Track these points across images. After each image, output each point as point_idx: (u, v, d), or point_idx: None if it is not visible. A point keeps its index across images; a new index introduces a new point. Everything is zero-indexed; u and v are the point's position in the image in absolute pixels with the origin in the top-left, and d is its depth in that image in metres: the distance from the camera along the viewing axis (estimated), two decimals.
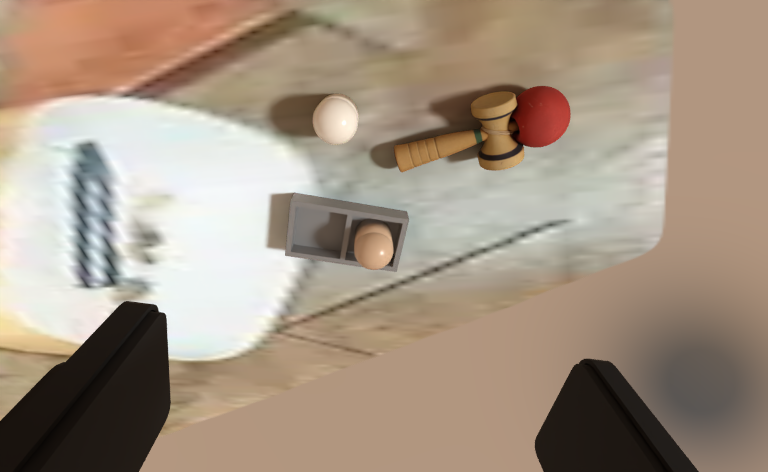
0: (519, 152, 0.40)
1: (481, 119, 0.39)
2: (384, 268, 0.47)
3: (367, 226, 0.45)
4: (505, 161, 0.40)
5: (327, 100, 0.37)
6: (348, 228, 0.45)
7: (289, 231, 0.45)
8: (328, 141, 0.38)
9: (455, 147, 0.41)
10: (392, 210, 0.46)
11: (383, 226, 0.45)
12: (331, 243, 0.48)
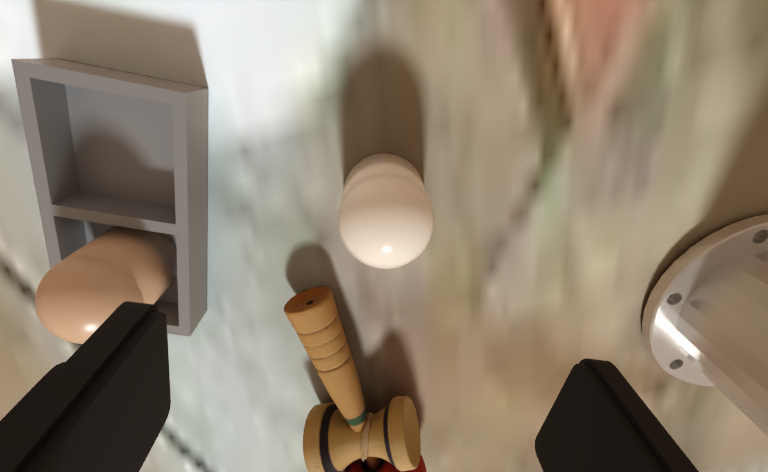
0: None
1: (385, 430, 0.24)
2: None
3: (156, 265, 0.20)
4: None
5: (431, 212, 0.17)
6: (141, 225, 0.19)
7: (93, 80, 0.17)
8: (348, 218, 0.17)
9: (337, 394, 0.24)
10: (205, 289, 0.24)
11: (164, 290, 0.21)
12: (94, 170, 0.20)
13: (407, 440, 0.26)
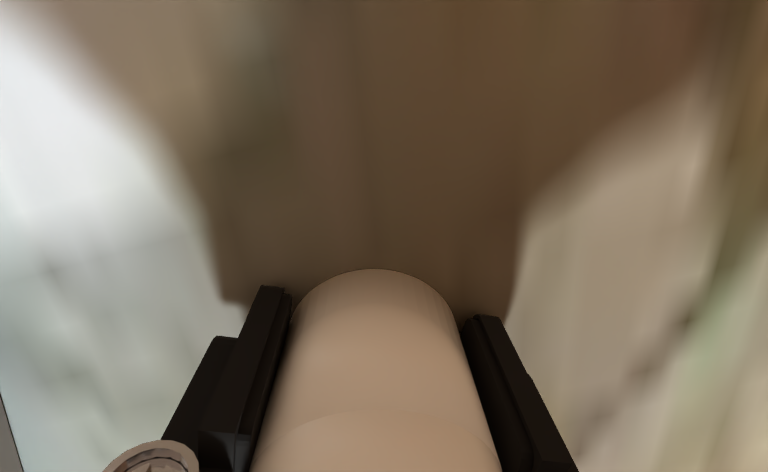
0: None
1: None
2: None
3: None
4: None
5: None
6: None
7: None
8: None
9: None
10: None
11: None
12: None
13: None
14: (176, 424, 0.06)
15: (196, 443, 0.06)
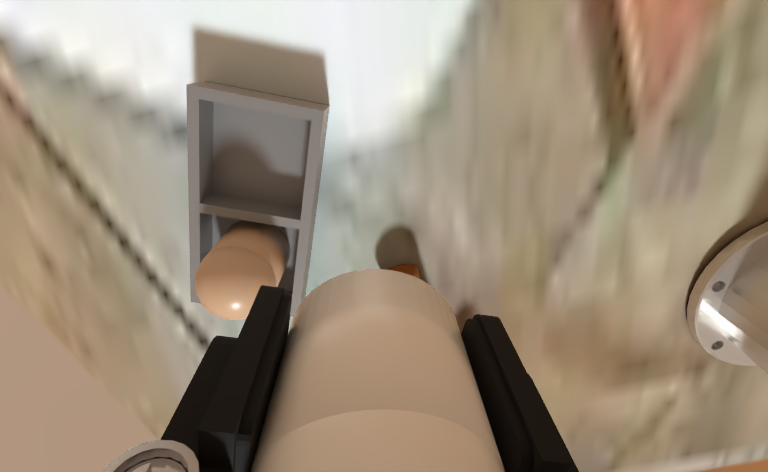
0: None
1: None
2: (194, 281, 0.25)
3: (279, 255, 0.24)
4: None
5: None
6: (271, 221, 0.23)
7: (250, 101, 0.20)
8: None
9: None
10: (307, 277, 0.27)
11: None
12: (227, 174, 0.24)
13: None
14: (176, 424, 0.06)
15: (196, 443, 0.06)
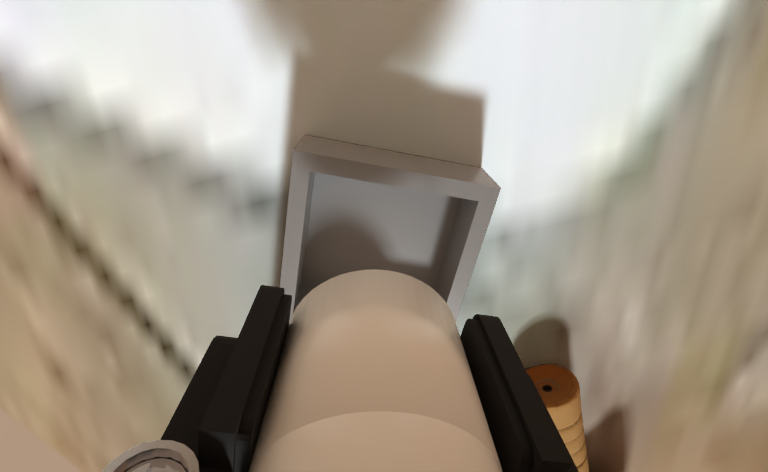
0: None
1: None
2: None
3: None
4: None
5: None
6: None
7: (390, 174, 0.13)
8: None
9: None
10: None
11: None
12: (324, 263, 0.17)
13: None
14: (176, 424, 0.06)
15: (196, 443, 0.06)
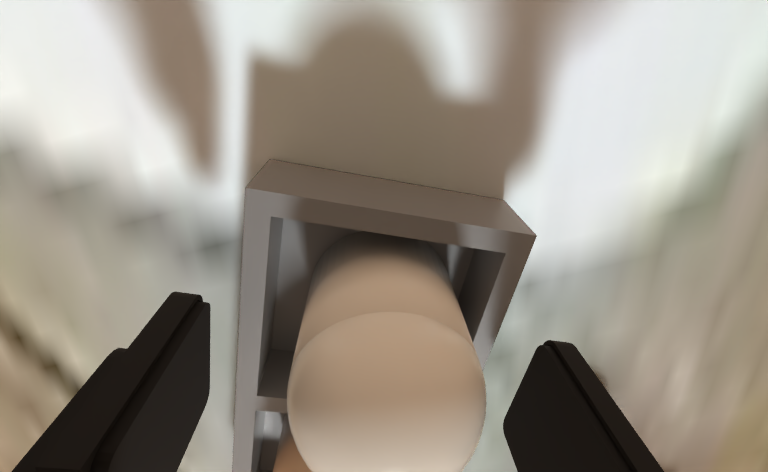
0: None
1: None
2: None
3: None
4: None
5: (483, 384, 0.08)
6: None
7: (384, 219, 0.09)
8: (302, 421, 0.07)
9: None
10: None
11: None
12: (301, 321, 0.13)
13: None
14: (35, 454, 0.06)
15: None
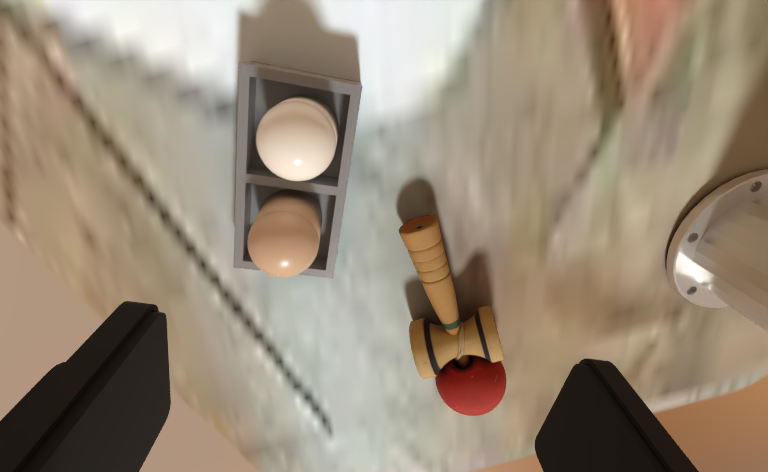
0: (436, 375, 0.32)
1: (479, 328, 0.30)
2: (238, 248, 0.27)
3: (318, 220, 0.26)
4: (427, 367, 0.31)
5: (331, 129, 0.21)
6: (311, 188, 0.26)
7: (296, 78, 0.23)
8: (260, 136, 0.21)
9: (441, 302, 0.30)
10: None
11: None
12: None
13: None
14: None
15: None
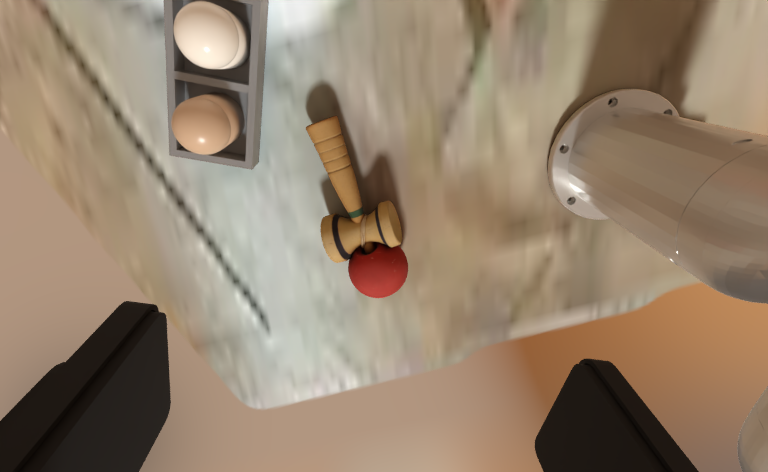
0: (343, 258, 0.37)
1: (376, 214, 0.36)
2: (172, 137, 0.33)
3: (234, 114, 0.33)
4: (333, 247, 0.36)
5: (230, 20, 0.28)
6: (227, 86, 0.32)
7: None
8: (174, 28, 0.27)
9: (343, 190, 0.35)
10: (259, 144, 0.36)
11: (237, 135, 0.34)
12: None
13: None
14: None
15: None
